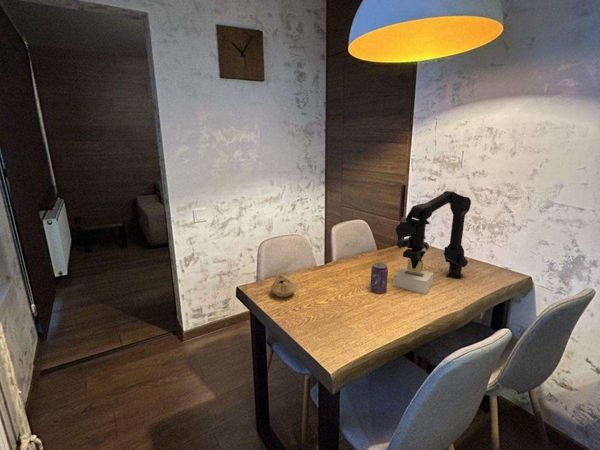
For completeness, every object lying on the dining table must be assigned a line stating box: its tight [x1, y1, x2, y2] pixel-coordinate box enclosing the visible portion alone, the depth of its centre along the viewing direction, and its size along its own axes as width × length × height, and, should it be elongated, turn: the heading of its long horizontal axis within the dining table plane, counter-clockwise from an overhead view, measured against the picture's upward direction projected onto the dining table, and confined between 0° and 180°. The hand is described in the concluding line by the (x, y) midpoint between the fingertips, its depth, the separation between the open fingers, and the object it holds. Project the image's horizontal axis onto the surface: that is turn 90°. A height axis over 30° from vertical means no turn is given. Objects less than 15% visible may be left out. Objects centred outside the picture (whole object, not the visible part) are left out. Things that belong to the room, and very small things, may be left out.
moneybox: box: [393, 266, 434, 295], centre depth 147 cm, size 12×14×6 cm
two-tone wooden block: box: [406, 258, 424, 272], centre depth 145 cm, size 2×6×5 cm, turn 54°
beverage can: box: [369, 262, 389, 294], centre depth 141 cm, size 7×7×12 cm
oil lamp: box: [270, 275, 297, 298], centre depth 139 cm, size 11×15×8 cm
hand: (414, 267), depth 145 cm, fingers closed on two-tone wooden block, 2 cm apart
